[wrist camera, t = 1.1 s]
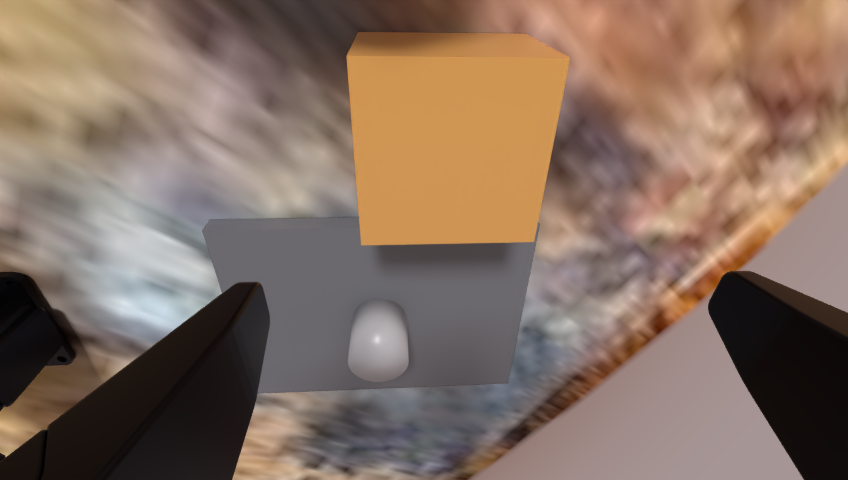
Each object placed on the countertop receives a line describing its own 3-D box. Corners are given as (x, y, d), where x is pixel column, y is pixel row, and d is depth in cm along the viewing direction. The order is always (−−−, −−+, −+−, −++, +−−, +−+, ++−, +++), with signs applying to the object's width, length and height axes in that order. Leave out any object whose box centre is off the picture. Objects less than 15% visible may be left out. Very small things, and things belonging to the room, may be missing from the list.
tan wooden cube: (367, 185, 20) (361, 245, 16) (358, 31, 16) (346, 56, 12) (505, 184, 20) (534, 242, 16) (526, 33, 17) (570, 57, 12)
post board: (258, 380, 27) (240, 439, 24) (209, 219, 20) (174, 270, 17) (504, 370, 28) (519, 426, 25) (533, 214, 21) (560, 261, 18)
